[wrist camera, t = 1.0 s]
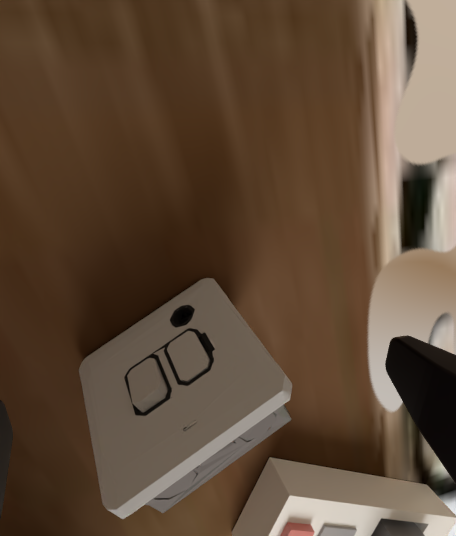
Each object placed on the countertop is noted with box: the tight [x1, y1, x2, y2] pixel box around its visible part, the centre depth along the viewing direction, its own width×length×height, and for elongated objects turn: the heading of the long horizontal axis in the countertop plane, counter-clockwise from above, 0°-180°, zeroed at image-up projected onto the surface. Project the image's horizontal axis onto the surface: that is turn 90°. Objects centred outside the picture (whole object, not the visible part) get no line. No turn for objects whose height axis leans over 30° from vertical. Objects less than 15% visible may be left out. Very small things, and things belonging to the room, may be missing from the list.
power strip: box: [232, 457, 456, 536], centre depth 31 cm, size 7×17×4 cm, turn 66°
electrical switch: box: [79, 278, 292, 519], centre depth 21 cm, size 9×5×9 cm, turn 121°
